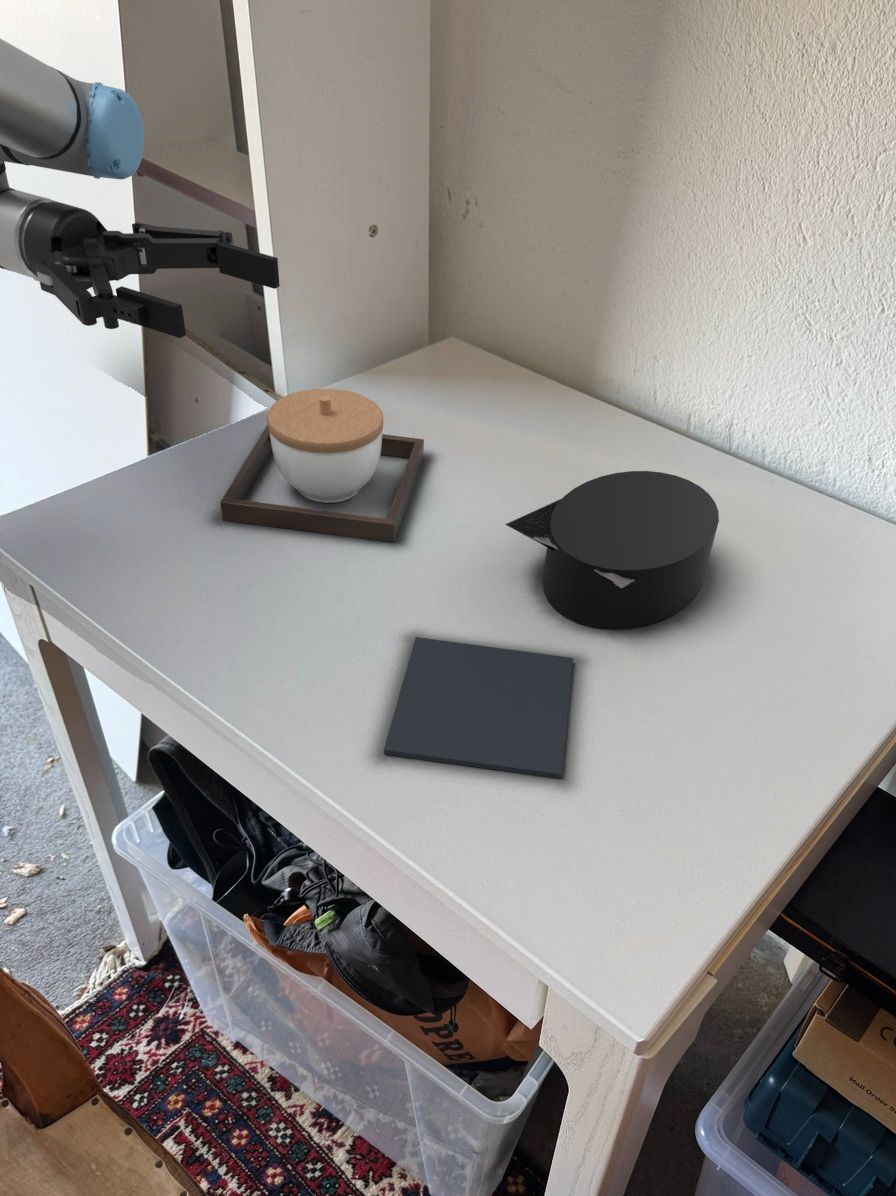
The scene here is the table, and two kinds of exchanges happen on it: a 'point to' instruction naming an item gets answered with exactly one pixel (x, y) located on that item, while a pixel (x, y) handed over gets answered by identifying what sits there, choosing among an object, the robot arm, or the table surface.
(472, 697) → the mat
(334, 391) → the trinket box
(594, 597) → the tape dispenser
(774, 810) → the table surface
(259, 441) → the dark wooden square frame
